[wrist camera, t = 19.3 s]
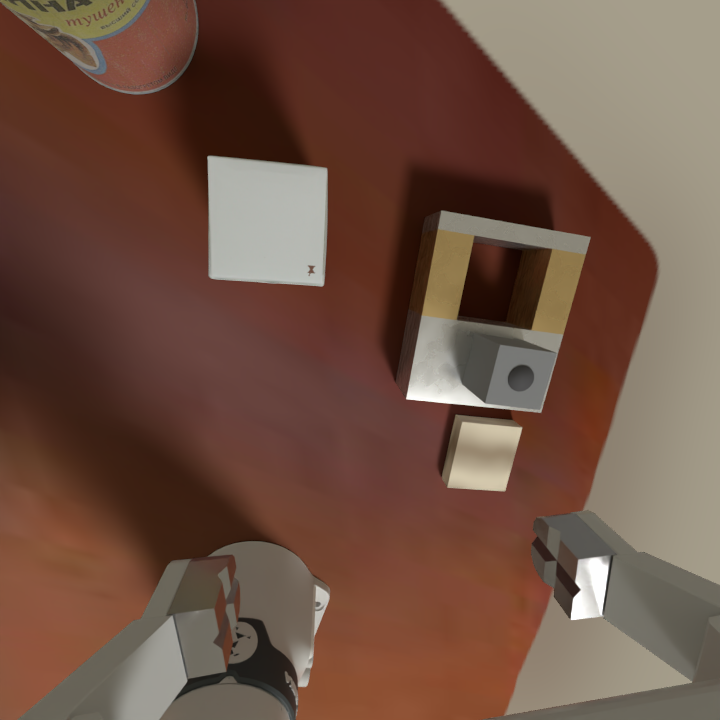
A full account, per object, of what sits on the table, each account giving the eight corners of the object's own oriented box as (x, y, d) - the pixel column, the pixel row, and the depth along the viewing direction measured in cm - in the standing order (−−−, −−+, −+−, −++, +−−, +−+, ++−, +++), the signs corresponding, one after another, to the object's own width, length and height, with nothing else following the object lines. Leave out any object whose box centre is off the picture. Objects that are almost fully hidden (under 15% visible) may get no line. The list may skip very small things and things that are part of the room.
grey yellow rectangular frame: (515, 395, 42) (541, 412, 37) (395, 382, 40) (406, 399, 35) (555, 240, 38) (590, 237, 33) (424, 217, 36) (441, 210, 31)
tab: (496, 481, 45) (504, 491, 43) (441, 477, 44) (447, 487, 42) (513, 420, 43) (522, 427, 41) (455, 414, 42) (462, 422, 40)
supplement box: (327, 199, 34) (332, 165, 22) (322, 280, 36) (325, 290, 24) (245, 190, 34) (204, 150, 21) (244, 274, 35) (207, 281, 23)
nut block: (510, 390, 36) (540, 410, 31) (462, 384, 35) (485, 403, 30) (523, 340, 35) (557, 353, 30) (474, 332, 34) (500, 345, 29)
